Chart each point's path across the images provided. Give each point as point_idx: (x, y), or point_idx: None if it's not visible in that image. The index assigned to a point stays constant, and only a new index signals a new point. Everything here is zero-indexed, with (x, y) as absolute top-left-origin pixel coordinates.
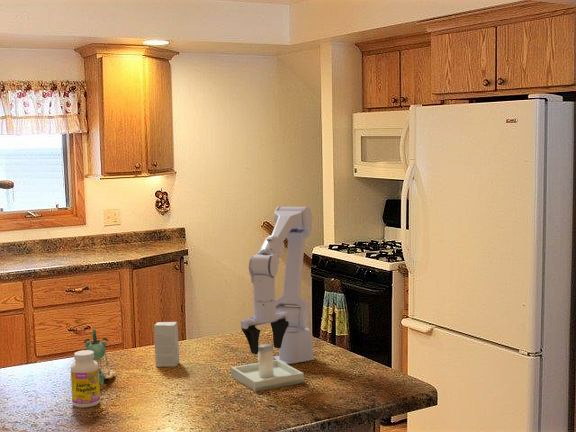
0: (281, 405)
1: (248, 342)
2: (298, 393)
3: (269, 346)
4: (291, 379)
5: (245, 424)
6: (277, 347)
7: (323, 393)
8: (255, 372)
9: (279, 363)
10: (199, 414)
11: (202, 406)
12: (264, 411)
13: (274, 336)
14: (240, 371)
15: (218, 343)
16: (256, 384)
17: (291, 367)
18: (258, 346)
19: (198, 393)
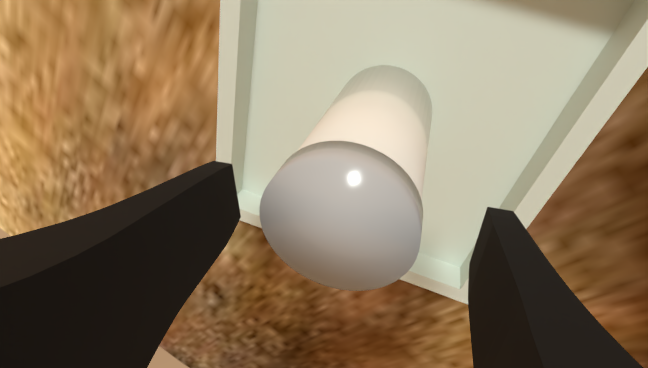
0: (241, 309)
1: (127, 203)
2: (348, 304)
3: (349, 271)
4: None
5: None
6: (473, 254)
7: (407, 358)
8: (384, 2)
9: (613, 59)
10: (19, 185)
11: (30, 144)
12: None
13: (505, 303)
14: (236, 15)
15: None
16: None
17: (527, 214)
18: (273, 196)
19: (23, 8)
